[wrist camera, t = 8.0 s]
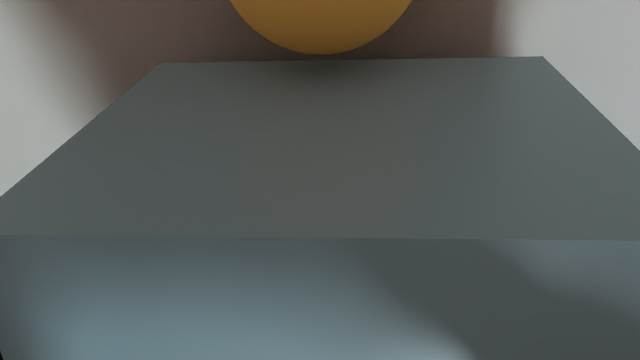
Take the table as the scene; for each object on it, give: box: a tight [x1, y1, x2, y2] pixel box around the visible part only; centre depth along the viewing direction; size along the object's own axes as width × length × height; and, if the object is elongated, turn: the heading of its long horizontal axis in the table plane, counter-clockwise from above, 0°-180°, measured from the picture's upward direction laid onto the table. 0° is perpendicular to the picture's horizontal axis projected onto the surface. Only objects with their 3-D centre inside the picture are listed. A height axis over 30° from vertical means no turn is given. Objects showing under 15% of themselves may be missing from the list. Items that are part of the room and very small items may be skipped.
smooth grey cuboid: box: [0, 56, 640, 360], centre depth 14 cm, size 10×10×9 cm
